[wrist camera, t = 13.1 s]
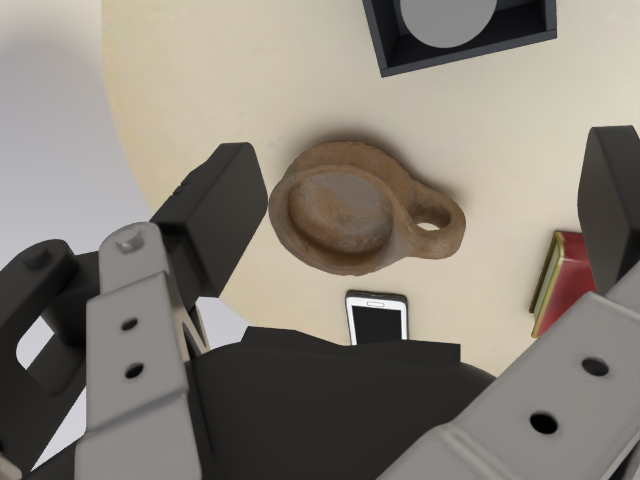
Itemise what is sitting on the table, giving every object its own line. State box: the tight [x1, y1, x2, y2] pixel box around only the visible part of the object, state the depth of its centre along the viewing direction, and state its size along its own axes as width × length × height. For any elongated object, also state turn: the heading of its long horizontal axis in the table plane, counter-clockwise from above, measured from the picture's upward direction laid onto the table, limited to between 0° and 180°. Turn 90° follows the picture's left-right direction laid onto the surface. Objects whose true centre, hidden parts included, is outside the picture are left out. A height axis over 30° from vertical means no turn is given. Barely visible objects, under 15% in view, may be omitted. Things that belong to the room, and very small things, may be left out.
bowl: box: [268, 141, 466, 276], centre depth 45 cm, size 18×14×10 cm
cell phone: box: [345, 292, 409, 345], centre depth 63 cm, size 8×15×1 cm, turn 8°
